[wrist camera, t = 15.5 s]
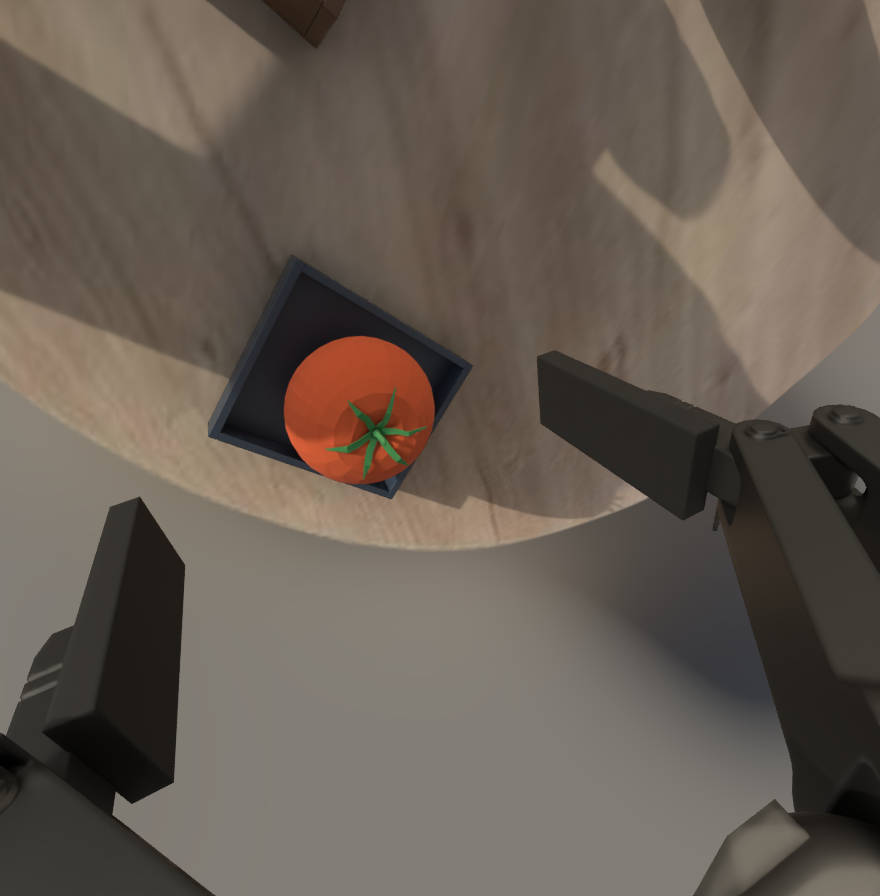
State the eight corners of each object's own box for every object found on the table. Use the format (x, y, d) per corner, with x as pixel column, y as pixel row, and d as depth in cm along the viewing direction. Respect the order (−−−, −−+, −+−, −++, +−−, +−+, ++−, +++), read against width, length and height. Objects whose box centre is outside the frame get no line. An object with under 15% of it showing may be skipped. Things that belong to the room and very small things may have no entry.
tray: (207, 423, 33) (207, 436, 31) (291, 254, 31) (296, 257, 29) (383, 485, 42) (391, 499, 40) (460, 357, 39) (473, 365, 37)
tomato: (260, 335, 32) (276, 381, 24) (401, 312, 35) (458, 345, 27) (292, 462, 37) (315, 536, 29) (413, 432, 40) (464, 490, 32)
